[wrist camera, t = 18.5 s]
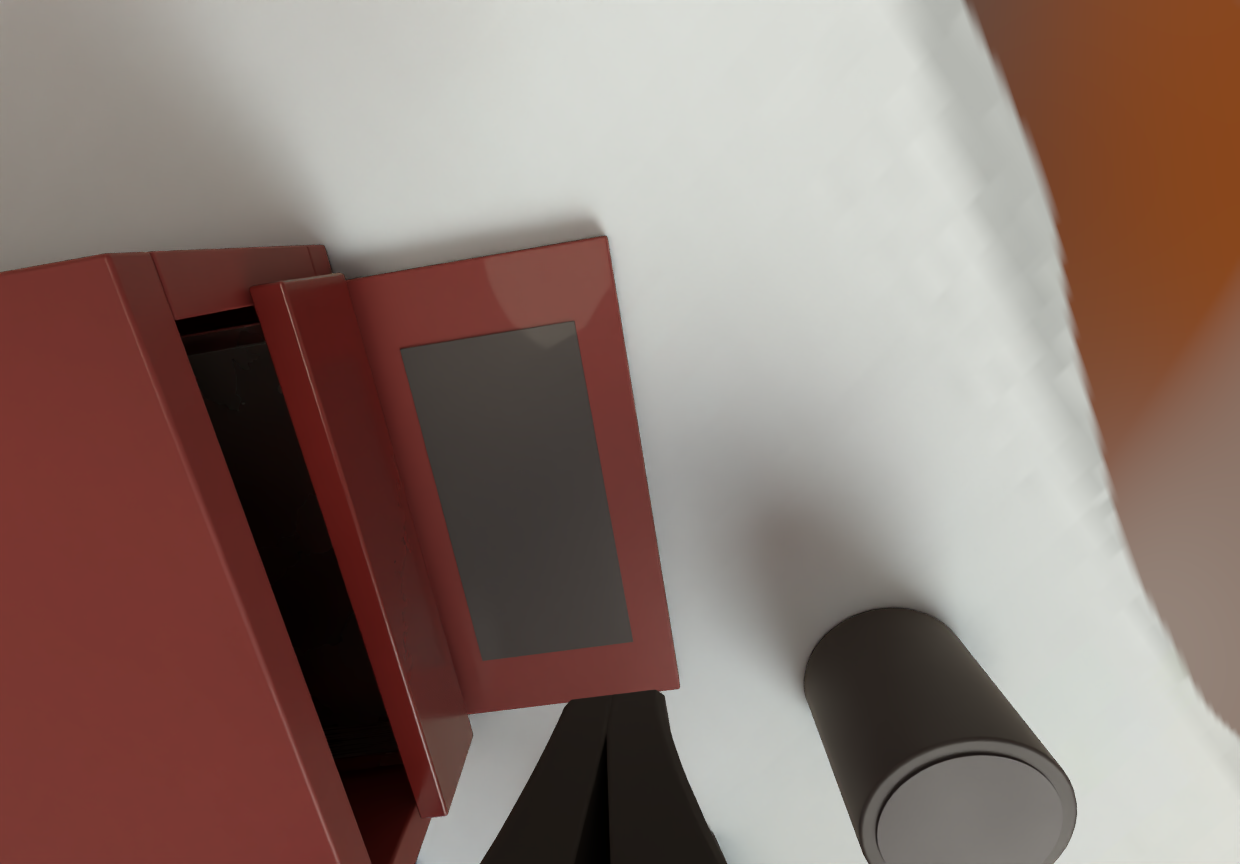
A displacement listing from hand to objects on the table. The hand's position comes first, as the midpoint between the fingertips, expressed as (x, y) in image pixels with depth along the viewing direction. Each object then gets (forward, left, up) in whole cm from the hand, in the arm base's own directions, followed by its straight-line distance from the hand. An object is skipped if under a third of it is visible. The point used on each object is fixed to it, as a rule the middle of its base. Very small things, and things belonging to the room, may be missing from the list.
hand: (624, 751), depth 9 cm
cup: (-8, -7, -10) cm, 15 cm away
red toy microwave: (0, +10, -10) cm, 15 cm away
